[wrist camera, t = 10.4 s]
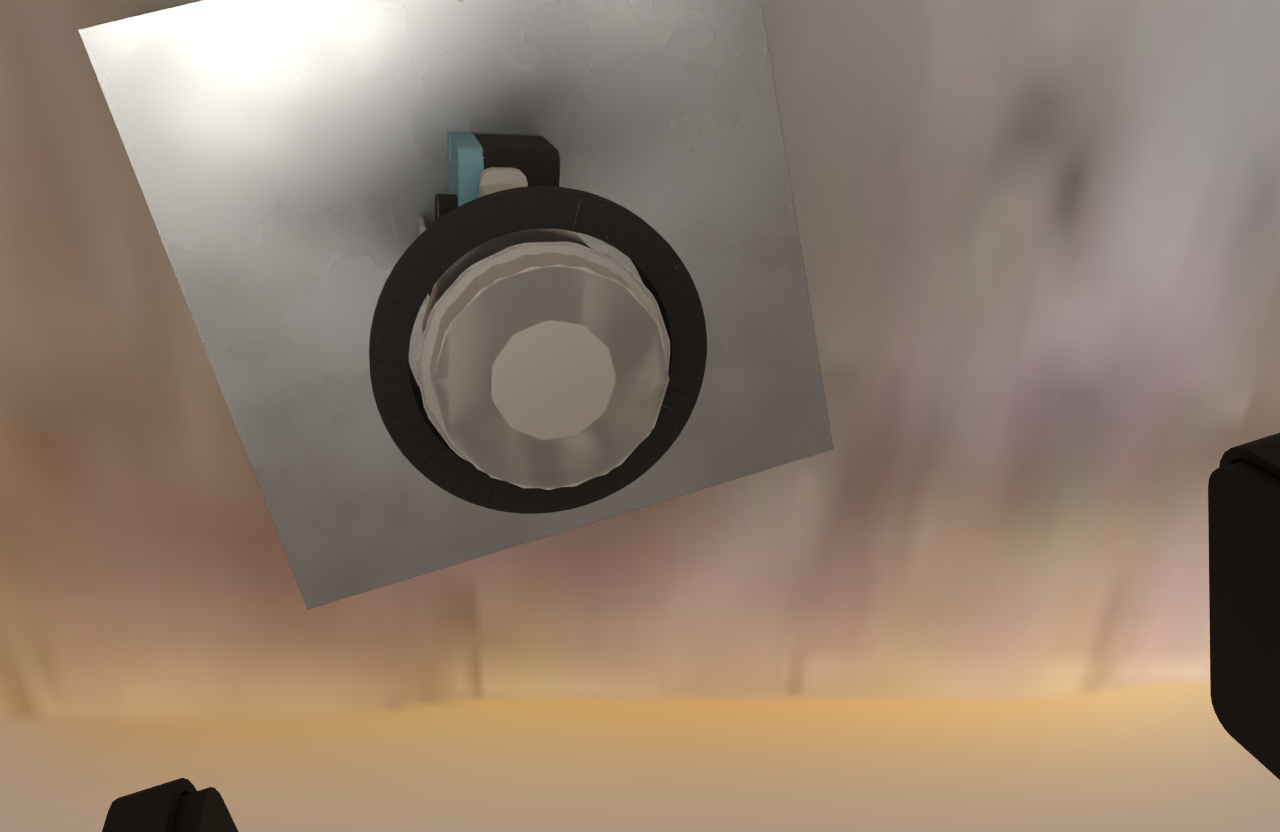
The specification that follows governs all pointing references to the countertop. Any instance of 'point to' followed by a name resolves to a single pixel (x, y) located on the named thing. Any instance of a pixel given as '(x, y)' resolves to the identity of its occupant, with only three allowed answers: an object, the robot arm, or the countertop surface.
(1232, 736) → the robot arm
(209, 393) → the countertop surface
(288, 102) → the stand
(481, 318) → the push button
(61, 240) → the countertop surface
